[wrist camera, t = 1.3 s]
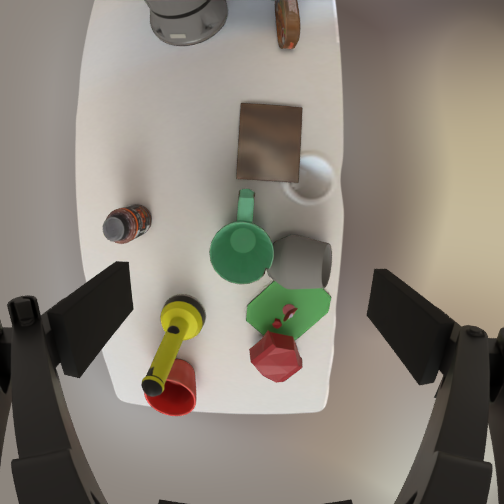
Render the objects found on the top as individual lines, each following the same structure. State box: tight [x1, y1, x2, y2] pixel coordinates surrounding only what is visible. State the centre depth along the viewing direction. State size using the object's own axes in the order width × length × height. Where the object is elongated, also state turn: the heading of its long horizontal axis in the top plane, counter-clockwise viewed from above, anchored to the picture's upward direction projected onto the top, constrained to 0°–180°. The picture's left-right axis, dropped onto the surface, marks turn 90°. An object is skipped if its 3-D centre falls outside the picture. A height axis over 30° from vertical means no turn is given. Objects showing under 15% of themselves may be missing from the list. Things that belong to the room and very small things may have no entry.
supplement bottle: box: [103, 205, 151, 244], centre depth 49 cm, size 6×6×11 cm
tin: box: [275, 0, 300, 49], centre depth 41 cm, size 15×3×8 cm, turn 3°
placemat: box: [236, 103, 302, 183], centre depth 51 cm, size 14×11×1 cm
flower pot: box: [144, 359, 196, 416], centre depth 58 cm, size 11×11×10 cm
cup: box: [267, 235, 332, 289], centre depth 51 cm, size 10×9×10 cm
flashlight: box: [142, 294, 206, 397], centre depth 47 cm, size 25×9×9 cm
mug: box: [209, 189, 274, 284], centre depth 50 cm, size 15×10×10 cm
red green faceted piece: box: [246, 281, 331, 382], centre depth 55 cm, size 15×20×9 cm
